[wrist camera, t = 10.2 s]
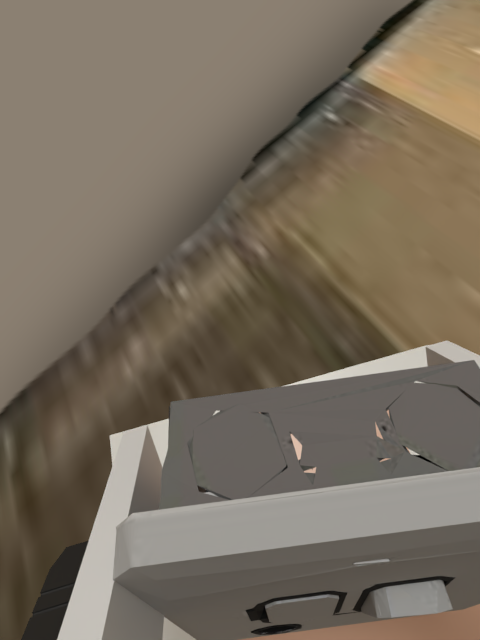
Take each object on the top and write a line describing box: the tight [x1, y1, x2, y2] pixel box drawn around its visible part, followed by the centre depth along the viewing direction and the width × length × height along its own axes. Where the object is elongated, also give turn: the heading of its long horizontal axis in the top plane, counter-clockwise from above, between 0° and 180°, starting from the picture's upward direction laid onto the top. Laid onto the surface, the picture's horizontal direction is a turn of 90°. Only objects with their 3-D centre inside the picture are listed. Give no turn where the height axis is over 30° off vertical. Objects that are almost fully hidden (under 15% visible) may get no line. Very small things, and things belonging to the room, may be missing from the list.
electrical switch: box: [113, 360, 480, 640], centre depth 11 cm, size 9×5×9 cm, turn 97°
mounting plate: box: [110, 345, 480, 640], centre depth 20 cm, size 20×15×1 cm
